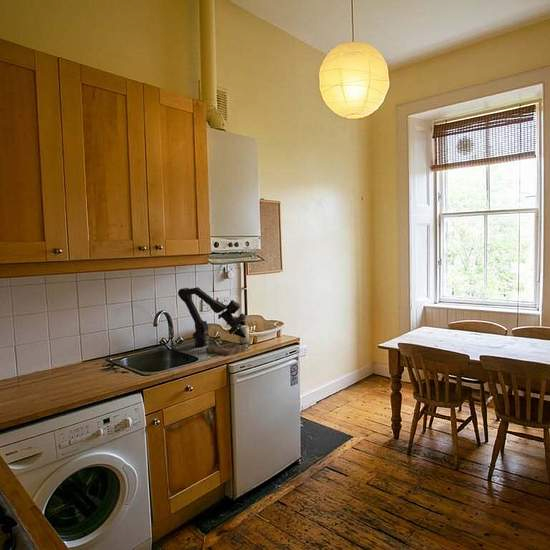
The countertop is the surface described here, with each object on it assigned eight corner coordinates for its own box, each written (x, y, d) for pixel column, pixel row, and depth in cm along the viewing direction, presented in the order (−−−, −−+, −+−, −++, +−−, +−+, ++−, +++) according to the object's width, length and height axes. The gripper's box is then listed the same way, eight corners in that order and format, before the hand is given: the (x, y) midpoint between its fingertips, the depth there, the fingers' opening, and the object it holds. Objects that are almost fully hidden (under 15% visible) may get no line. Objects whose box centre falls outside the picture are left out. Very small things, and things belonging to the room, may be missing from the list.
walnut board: (228, 355, 230) (228, 350, 230) (214, 352, 239) (214, 347, 239) (245, 350, 240) (245, 346, 239) (231, 347, 248) (231, 342, 248)
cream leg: (239, 347, 247) (238, 327, 246) (243, 345, 252) (242, 325, 251) (247, 348, 245) (246, 327, 244) (251, 346, 250) (250, 325, 249)
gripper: (232, 312, 239) (250, 331, 237) (242, 307, 257) (259, 324, 255) (220, 325, 241) (238, 343, 240) (231, 319, 260) (248, 336, 258)
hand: (247, 336), depth 248 cm, fingers closed on cream leg, 5 cm apart
